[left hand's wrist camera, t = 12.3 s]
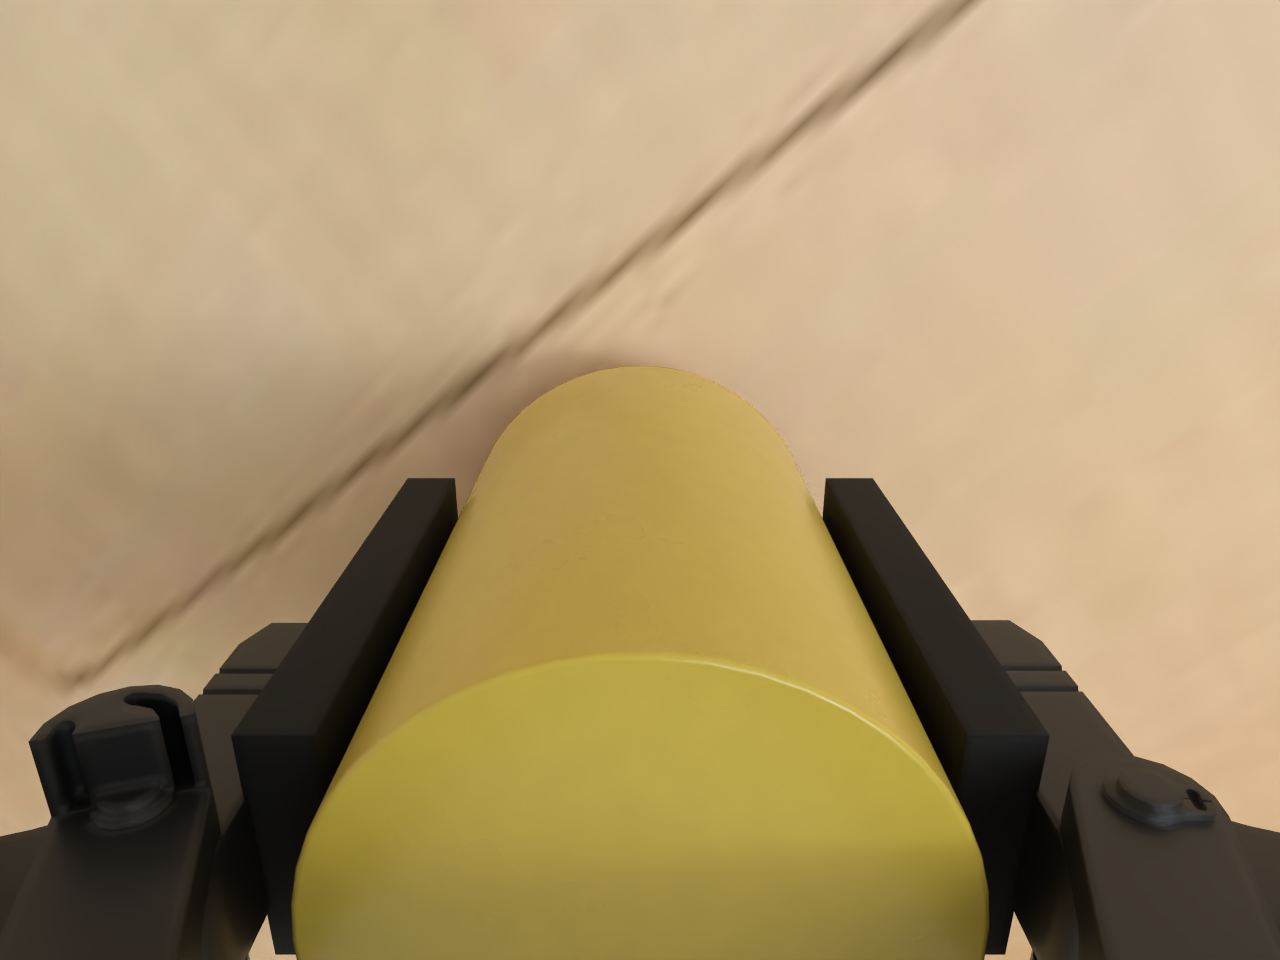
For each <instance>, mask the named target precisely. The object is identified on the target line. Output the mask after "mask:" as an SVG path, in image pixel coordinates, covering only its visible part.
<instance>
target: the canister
mask: <svg viewBox="0 0 1280 960" xmlns="http://www.w3.org/2000/svg"><path fill="white" fill-rule="evenodd" d="M291 911H292V933H293V944H294V948H295V953H296V957H297V960H984V957H985V951H986V945H987V938H988V932H989V890H988V885H987V880H986V874H985V869H984V864H983V859H982V855H981V852H980V850H979V847H978V844H977V842H976V839H975V837H974V834H973V831H972V829H971V826H970V824H969V821H968V819H967V817H966V815H965V813H964V811H963V809H962V807H961V805H960V802H959V800H958V798H957V796H956V794H955V792H954V790H953V788H952V786H951V784H950V782H949V780H948V778H947V776H946V773H945V771H944V769H943V767H942V765H941V763H940V761H939V759H938V757H937V755H936V753H935V751H934V749H933V747H932V745H931V742H930V740H929V738H928V736H927V734H926V732H925V730H924V728H923V726H922V724H921V722H920V720H919V718H918V716H917V714H916V711H915V709H914V707H913V705H912V703H911V701H910V699H909V697H908V695H907V693H906V691H905V689H904V687H903V685H902V682H901V680H900V678H899V676H898V674H897V672H896V670H895V668H894V666H893V664H892V662H891V660H890V658H889V656H888V654H887V651H886V649H885V647H884V645H883V643H882V641H881V639H880V637H879V635H878V633H877V631H876V629H875V627H874V625H873V622H872V620H871V618H870V616H869V614H868V612H867V610H866V608H865V606H864V604H863V602H862V600H861V598H860V596H859V594H858V591H857V589H856V587H855V585H854V583H853V581H852V579H851V577H850V575H849V573H848V571H847V569H846V567H845V565H844V563H843V560H842V558H841V556H840V554H839V552H838V550H837V548H836V546H835V544H834V542H833V540H832V538H831V536H830V534H829V531H828V529H827V527H826V525H825V523H824V521H823V519H822V517H821V515H820V513H819V511H818V509H817V507H816V505H815V503H814V500H813V498H812V496H811V494H810V492H809V490H808V488H807V486H806V484H805V482H804V480H803V478H802V476H801V474H800V471H799V469H798V467H797V465H796V463H795V461H794V459H793V457H792V455H791V453H790V452H789V450H788V448H787V446H786V445H785V443H784V441H783V440H782V438H781V437H780V435H779V434H778V433H777V431H776V430H775V429H774V428H773V426H772V425H771V424H770V423H769V421H768V420H767V419H766V418H765V417H764V416H763V415H762V414H761V413H759V412H758V411H757V410H756V409H755V408H754V407H753V406H752V405H751V404H749V403H748V402H747V401H745V400H744V399H743V398H741V397H740V396H738V395H737V394H736V393H734V392H732V391H731V390H729V389H727V388H725V387H723V386H721V385H719V384H718V383H716V382H714V381H711V380H708V379H706V378H703V377H700V376H698V375H695V374H692V373H688V372H684V371H680V370H675V369H671V368H662V367H653V366H624V367H618V368H611V369H604V370H600V371H596V372H593V373H589V374H586V375H582V376H579V377H577V378H574V379H572V380H570V381H567V382H565V383H563V384H561V385H558V386H557V387H555V388H553V389H552V390H550V391H548V392H547V393H545V394H543V395H542V396H540V397H539V398H537V399H536V400H535V401H534V402H532V403H531V404H530V405H529V406H527V407H526V408H525V409H524V410H522V411H521V413H520V414H519V415H518V416H517V417H516V418H515V419H514V420H513V421H512V422H511V423H510V424H509V425H508V426H507V428H506V429H505V430H504V432H503V433H502V435H501V436H500V437H499V439H498V440H497V442H496V443H495V445H494V447H493V449H492V451H491V452H490V454H489V456H488V458H487V460H486V462H485V464H484V466H483V468H482V470H481V473H480V475H479V477H478V479H477V481H476V483H475V485H474V487H473V489H472V491H471V493H470V495H469V497H468V500H467V502H466V504H465V506H464V508H463V510H462V512H461V514H460V516H459V518H458V520H457V522H456V524H455V526H454V529H453V531H452V533H451V535H450V537H449V539H448V541H447V543H446V545H445V547H444V549H443V551H442V553H441V556H440V558H439V560H438V562H437V564H436V566H435V568H434V570H433V572H432V574H431V576H430V578H429V580H428V582H427V585H426V587H425V589H424V591H423V593H422V595H421V597H420V599H419V601H418V603H417V605H416V607H415V609H414V612H413V614H412V616H411V618H410V620H409V622H408V624H407V626H406V628H405V630H404V632H403V634H402V636H401V638H400V641H399V643H398V645H397V647H396V649H395V651H394V653H393V655H392V657H391V659H390V661H389V663H388V665H387V668H386V670H385V672H384V674H383V676H382V678H381V680H380V682H379V684H378V686H377V688H376V690H375V692H374V695H373V697H372V699H371V701H370V703H369V705H368V707H367V709H366V711H365V713H364V715H363V717H362V719H361V721H360V724H359V726H358V728H357V730H356V732H355V734H354V736H353V738H352V740H351V742H350V744H349V746H348V748H347V751H346V753H345V755H344V757H343V759H342V761H341V763H340V765H339V767H338V769H337V771H336V773H335V775H334V777H333V780H332V782H331V784H330V786H329V788H328V790H327V792H326V794H325V796H324V798H323V800H322V802H321V804H320V807H319V809H318V811H317V813H316V815H315V817H314V819H313V821H312V823H311V825H310V827H309V829H308V831H307V834H306V837H305V840H304V843H303V846H302V849H301V853H300V856H299V859H298V862H297V865H296V869H295V877H294V884H293V892H292V899H291Z"/></svg>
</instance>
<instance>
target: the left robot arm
mask: <svg viewBox="0 0 1280 960" xmlns="http://www.w3.org/2000/svg"><path fill="white" fill-rule="evenodd" d="M457 520H458V512H457V500H456V488H455V478H408V479H407V480H406V482H405V483H404V485H403V486H402V488H401V489H400V491H399V492H398V493H397V495H396V496H395V498H394V499H393V501H392V502H391V504H390V505H389V507H388V508H387V509H386V511H385V512H384V514H383V515H382V517H381V518H380V520H379V521H378V522H377V524H376V525H375V527H374V528H373V530H372V531H371V533H370V534H369V536H368V537H367V538H366V540H365V541H364V543H363V544H362V546H361V547H360V549H359V550H358V552H357V553H356V554H355V556H354V557H353V559H352V560H351V562H350V563H349V565H348V566H347V567H346V569H345V570H344V572H343V573H342V575H341V576H340V578H339V579H338V581H337V582H336V583H335V585H334V586H333V588H332V589H331V591H330V592H329V594H328V595H327V597H326V598H325V599H324V601H323V602H322V604H321V605H320V607H319V608H318V610H317V611H316V613H315V614H314V615H313V617H312V618H311V620H310V621H309V623H271V624H270V625H268V626H267V627H265V628H264V629H262V630H260V631H259V632H257V633H256V634H254V635H253V636H251V637H250V638H248V639H247V640H245V641H243V642H242V643H240V644H239V645H238V646H237V648H236V649H235V650H234V651H233V653H232V654H231V655H230V656H229V658H228V659H227V660H226V661H225V663H224V664H223V665H222V666H221V668H220V672H219V674H215V675H214V676H213V678H212V679H211V680H210V682H209V683H208V684H207V685H206V687H205V688H204V689H203V695H198V697H197V698H196V699H195V700H194V702H193V699H192V698H191V697H189V696H188V695H187V694H185V693H184V692H183V691H182V690H180V689H176V688H171V687H166V686H161V685H147V686H131V687H126V688H122V689H118V690H114V691H110V692H105V693H101V694H98V695H96V696H93V697H91V698H89V699H86V700H84V701H82V702H79V703H77V704H75V705H72V706H70V707H68V708H66V709H65V710H63V711H62V712H60V713H59V714H57V715H56V716H55V717H53V718H52V719H50V720H49V721H47V722H46V723H44V724H43V725H42V726H41V728H40V729H39V730H38V731H37V732H36V734H35V735H34V736H33V737H32V738H31V739H30V741H29V745H30V748H31V751H32V755H33V758H34V761H35V764H36V768H37V771H38V774H39V778H40V781H41V784H42V787H43V791H44V794H45V797H46V800H47V804H48V807H49V810H50V813H51V819H50V822H49V824H48V825H47V826H43V827H40V828H36V829H33V830H28V831H24V832H19V833H14V834H10V835H5V836H1V837H0V960H250V958H249V951H250V949H251V947H252V945H253V943H254V941H255V939H256V936H257V934H258V932H259V930H260V928H261V926H262V924H263V922H264V920H265V918H266V916H267V915H268V920H269V925H270V930H271V935H272V940H273V944H274V949H275V954H296V953H295V948H294V944H293V933H292V911H291V899H292V892H293V884H294V877H295V869H296V865H297V862H298V859H299V856H300V853H301V849H302V846H303V843H304V840H305V837H306V834H307V831H308V829H309V827H310V825H311V823H312V821H313V819H314V817H315V815H316V813H317V811H318V809H319V807H320V804H321V802H322V800H323V798H324V796H325V794H326V792H327V790H328V788H329V786H330V784H331V782H332V780H333V777H334V775H335V773H336V771H337V769H338V767H339V765H340V763H341V761H342V759H343V757H344V755H345V753H346V751H347V748H348V746H349V744H350V742H351V740H352V738H353V736H354V734H355V732H356V730H357V728H358V726H359V724H360V721H361V719H362V717H363V715H364V713H365V711H366V709H367V707H368V705H369V703H370V701H371V699H372V697H373V695H374V692H375V690H376V688H377V686H378V684H379V682H380V680H381V678H382V676H383V674H384V672H385V670H386V668H387V665H388V663H389V661H390V659H391V657H392V655H393V653H394V651H395V649H396V647H397V645H398V643H399V641H400V638H401V636H402V634H403V632H404V630H405V628H406V626H407V624H408V622H409V620H410V618H411V616H412V614H413V612H414V609H415V607H416V605H417V603H418V601H419V599H420V597H421V595H422V593H423V591H424V589H425V587H426V585H427V582H428V580H429V578H430V576H431V574H432V572H433V570H434V568H435V566H436V564H437V562H438V560H439V558H440V556H441V553H442V551H443V549H444V547H445V545H446V543H447V541H448V539H449V537H450V535H451V533H452V531H453V529H454V526H455V524H456V522H457ZM823 521H824V523H825V525H826V527H827V529H828V531H829V534H830V536H831V538H832V540H833V542H834V544H835V546H836V548H837V550H838V552H839V554H840V556H841V558H842V560H843V563H844V565H845V567H846V569H847V571H848V573H849V575H850V577H851V579H852V581H853V583H854V585H855V587H856V589H857V591H858V594H859V596H860V598H861V600H862V602H863V604H864V606H865V608H866V610H867V612H868V614H869V616H870V618H871V620H872V622H873V625H874V627H875V629H876V631H877V633H878V635H879V637H880V639H881V641H882V643H883V645H884V647H885V649H886V651H887V654H888V656H889V658H890V660H891V662H892V664H893V666H894V668H895V670H896V672H897V674H898V676H899V678H900V680H901V682H902V685H903V687H904V689H905V691H906V693H907V695H908V697H909V699H910V701H911V703H912V705H913V707H914V709H915V711H916V714H917V716H918V718H919V720H920V722H921V724H922V726H923V728H924V730H925V732H926V734H927V736H928V738H929V740H930V742H931V745H932V747H933V749H934V751H935V753H936V755H937V757H938V759H939V761H940V763H941V765H942V767H943V769H944V771H945V773H946V776H947V778H948V780H949V782H950V784H951V786H952V788H953V790H954V792H955V794H956V796H957V798H958V800H959V802H960V805H961V807H962V809H963V811H964V813H965V815H966V817H967V819H968V821H969V824H970V826H971V829H972V831H973V834H974V837H975V839H976V842H977V844H978V847H979V850H980V852H981V855H982V859H983V864H984V869H985V874H986V880H987V885H988V890H989V932H988V938H987V945H986V951H985V954H1005V952H1006V947H1007V942H1008V938H1009V933H1010V928H1011V923H1012V918H1013V913H1014V912H1015V914H1016V916H1017V918H1018V920H1019V923H1020V925H1021V927H1022V929H1023V931H1024V933H1025V935H1026V937H1027V939H1028V941H1029V943H1030V945H1031V947H1032V953H1031V958H1030V960H1280V833H1279V832H1274V831H1270V830H1265V829H1260V828H1256V827H1251V826H1247V825H1244V824H1240V823H1236V822H1233V821H1231V820H1230V818H1229V816H1228V814H1227V813H1226V811H1225V810H1224V809H1223V807H1222V806H1221V804H1220V803H1219V802H1218V800H1217V799H1216V798H1215V796H1214V795H1212V794H1211V793H1210V792H1208V791H1207V790H1206V789H1205V788H1203V787H1202V786H1201V785H1199V784H1198V783H1197V782H1196V781H1194V780H1193V779H1192V778H1190V777H1188V776H1186V775H1184V774H1182V773H1180V772H1178V771H1176V770H1173V769H1171V768H1169V767H1167V766H1165V765H1163V764H1160V763H1157V762H1153V761H1149V760H1146V759H1142V758H1139V757H1135V756H1134V755H1133V754H1132V753H1131V752H1130V750H1129V749H1128V748H1127V747H1126V745H1125V744H1124V743H1123V742H1122V741H1121V739H1120V738H1119V737H1118V736H1117V734H1116V733H1115V732H1114V731H1113V729H1112V728H1111V727H1110V726H1109V724H1108V723H1107V722H1106V721H1105V719H1104V718H1103V717H1102V716H1101V714H1100V713H1099V712H1098V711H1097V709H1096V708H1095V707H1094V706H1093V704H1092V703H1091V702H1090V701H1089V699H1088V698H1087V697H1086V696H1085V694H1084V693H1083V692H1079V691H1078V686H1077V684H1076V683H1075V682H1074V681H1073V679H1072V678H1071V677H1070V676H1069V674H1068V673H1067V672H1066V671H1062V666H1061V665H1060V663H1059V662H1058V661H1057V660H1056V658H1055V657H1054V656H1053V655H1052V653H1051V652H1050V651H1049V650H1048V648H1047V647H1046V646H1045V645H1044V643H1043V642H1042V641H1040V640H1039V639H1037V638H1036V637H1034V636H1033V635H1031V634H1030V633H1028V632H1027V631H1025V630H1023V629H1022V628H1020V627H1019V626H1017V625H1016V624H1014V623H1013V622H1011V621H1009V620H970V619H969V617H968V616H967V615H966V613H965V612H964V610H963V609H962V607H961V606H960V604H959V603H958V601H957V600H956V599H955V597H954V596H953V594H952V593H951V591H950V590H949V588H948V587H947V586H946V584H945V583H944V581H943V580H942V578H941V577H940V575H939V574H938V572H937V571H936V570H935V568H934V567H933V565H932V564H931V562H930V561H929V559H928V558H927V556H926V555H925V554H924V552H923V551H922V549H921V548H920V546H919V545H918V543H917V542H916V541H915V539H914V538H913V536H912V535H911V533H910V532H909V530H908V529H907V527H906V526H905V525H904V523H903V522H902V520H901V519H900V517H899V516H898V514H897V513H896V511H895V510H894V509H893V507H892V506H891V504H890V503H889V501H888V500H887V498H886V497H885V496H884V494H883V493H882V491H881V490H880V488H879V487H878V485H877V484H876V482H875V481H874V480H873V478H826V483H825V495H824V507H823Z"/></svg>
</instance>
